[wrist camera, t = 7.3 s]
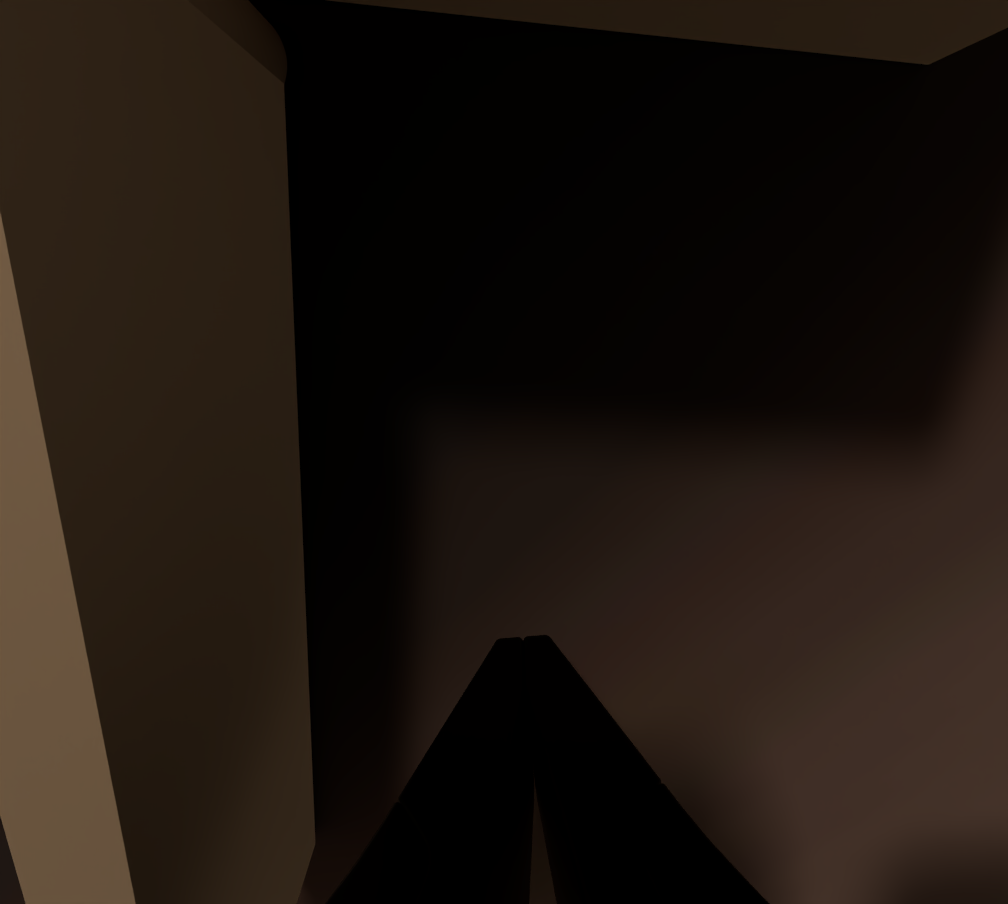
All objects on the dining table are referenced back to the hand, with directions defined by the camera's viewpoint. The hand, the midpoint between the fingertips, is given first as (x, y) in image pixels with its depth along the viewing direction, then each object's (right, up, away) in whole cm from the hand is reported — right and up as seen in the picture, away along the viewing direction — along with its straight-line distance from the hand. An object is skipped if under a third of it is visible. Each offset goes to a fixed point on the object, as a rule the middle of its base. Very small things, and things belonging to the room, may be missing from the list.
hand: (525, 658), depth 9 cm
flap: (-4, +2, 0) cm, 5 cm away
